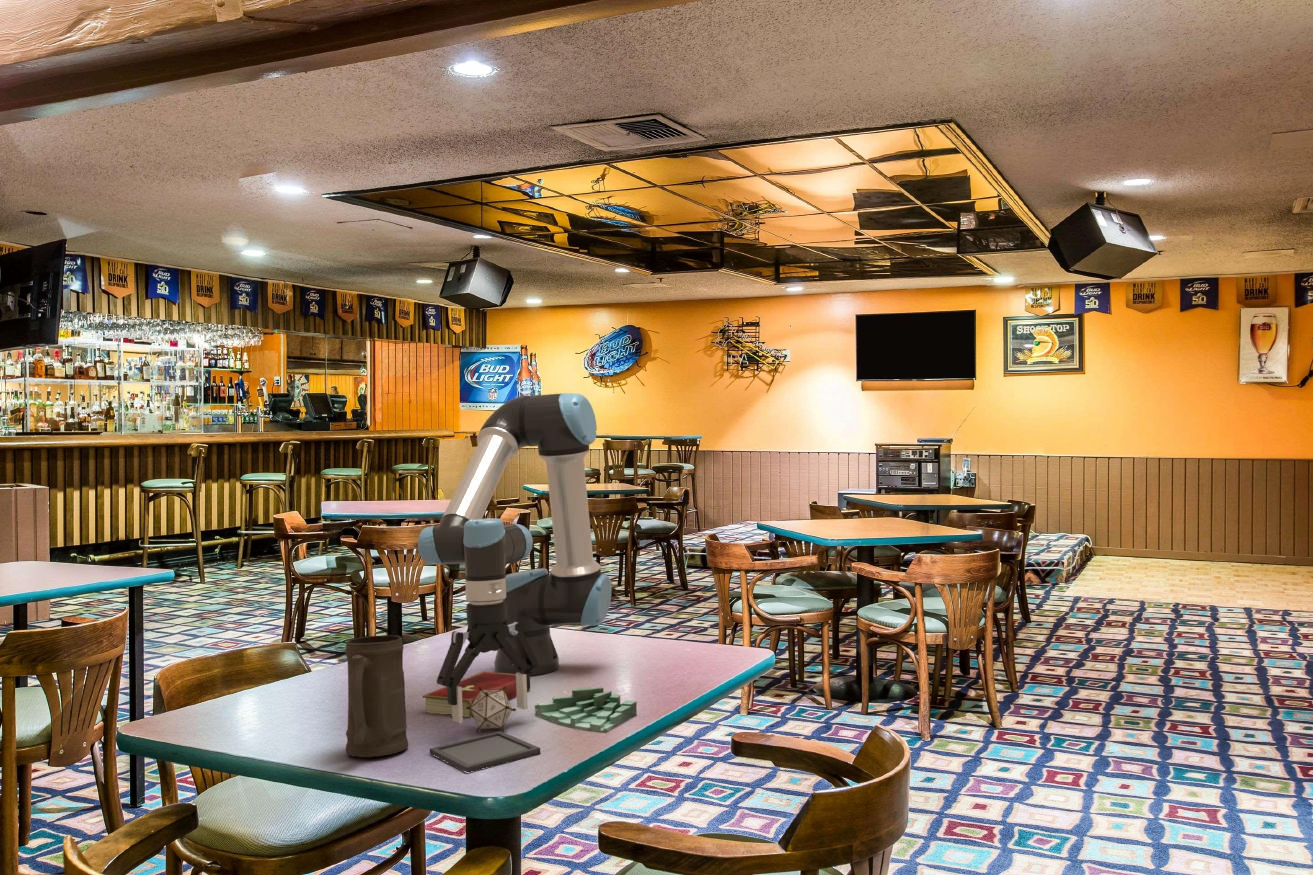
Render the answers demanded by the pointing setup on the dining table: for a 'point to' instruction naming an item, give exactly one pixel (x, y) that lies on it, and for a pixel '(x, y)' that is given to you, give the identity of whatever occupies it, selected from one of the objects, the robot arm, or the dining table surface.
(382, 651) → the beer stein
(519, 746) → the mat
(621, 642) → the dining table surface
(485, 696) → the game die
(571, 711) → the green curved brick section
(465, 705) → the hardcover book
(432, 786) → the dining table surface
